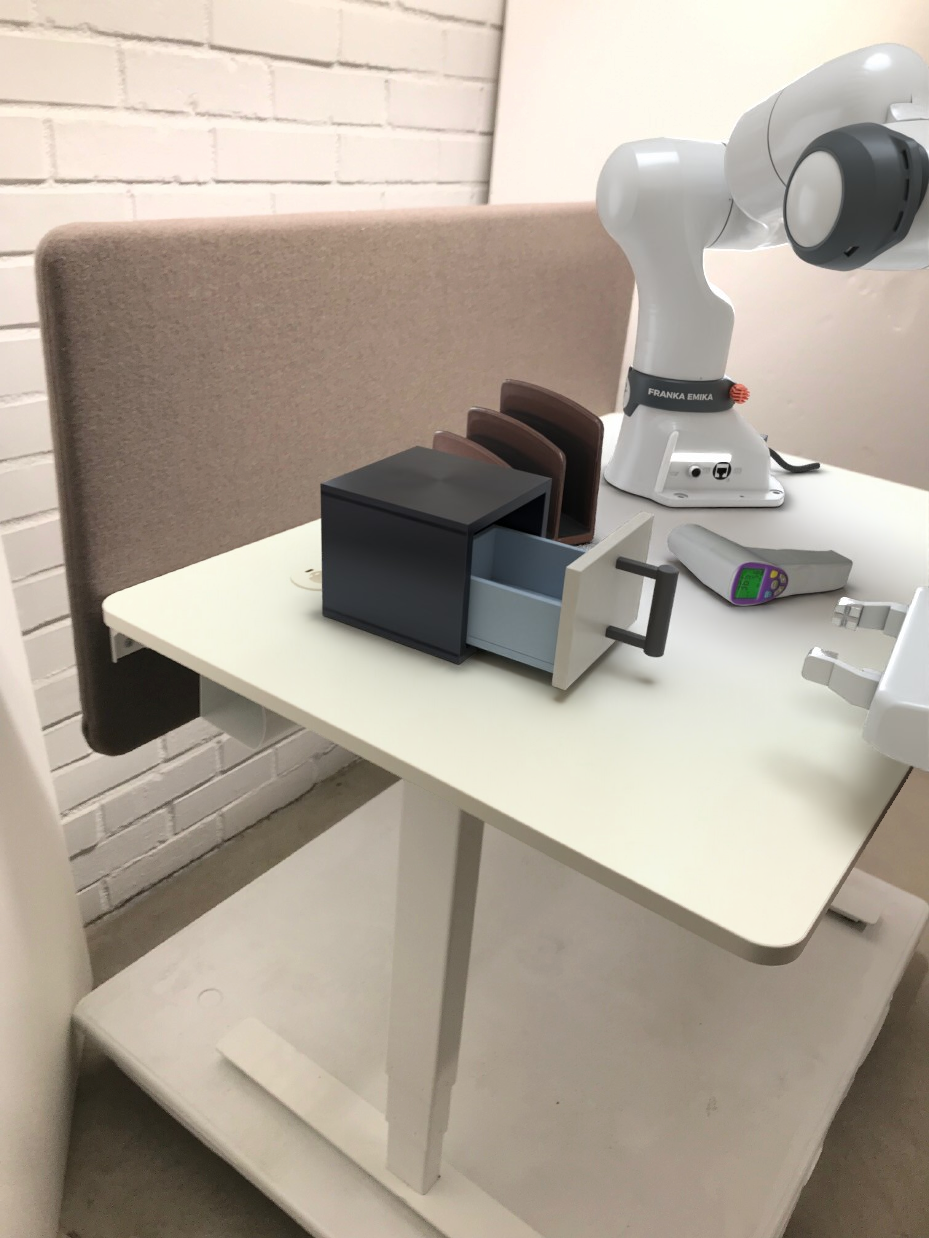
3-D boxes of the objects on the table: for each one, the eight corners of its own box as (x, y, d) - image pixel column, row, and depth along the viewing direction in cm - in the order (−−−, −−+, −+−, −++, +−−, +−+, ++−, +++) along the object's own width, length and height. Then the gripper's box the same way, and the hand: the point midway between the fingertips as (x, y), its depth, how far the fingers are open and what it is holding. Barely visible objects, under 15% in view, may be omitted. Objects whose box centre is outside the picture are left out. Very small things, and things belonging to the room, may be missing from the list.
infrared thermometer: (851, 599, 90) (732, 610, 84) (769, 552, 100) (657, 559, 93) (865, 557, 88) (745, 565, 82) (780, 513, 98) (667, 517, 91)
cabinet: (538, 603, 83) (552, 478, 77) (459, 664, 72) (468, 524, 67) (412, 563, 89) (417, 445, 84) (322, 615, 78) (320, 483, 73)
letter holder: (499, 484, 112) (508, 369, 105) (594, 543, 97) (612, 412, 90) (427, 493, 107) (432, 374, 101) (515, 556, 92) (528, 420, 86)
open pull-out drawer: (690, 636, 76) (711, 528, 72) (625, 712, 65) (645, 590, 61) (497, 577, 85) (505, 477, 80) (410, 635, 73) (414, 523, 69)
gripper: (1065, 596, 63) (860, 547, 69) (1062, 731, 48) (797, 652, 54) (1034, 673, 66) (839, 619, 72) (1021, 824, 51) (774, 739, 57)
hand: (820, 634), depth 63 cm, fingers open, 8 cm apart
